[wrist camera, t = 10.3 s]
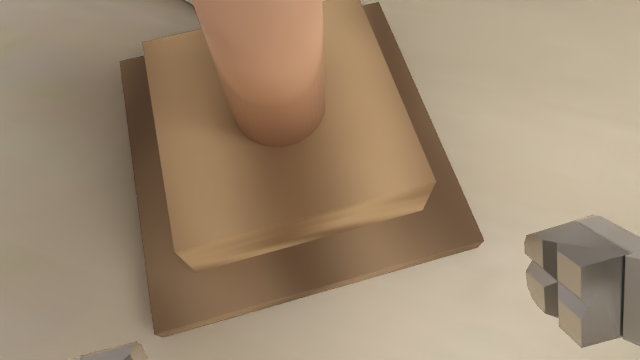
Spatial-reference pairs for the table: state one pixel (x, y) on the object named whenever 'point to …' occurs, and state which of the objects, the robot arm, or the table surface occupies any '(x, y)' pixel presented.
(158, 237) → the walnut base
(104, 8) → the table surface
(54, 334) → the table surface
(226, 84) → the peach capsule cylinder
